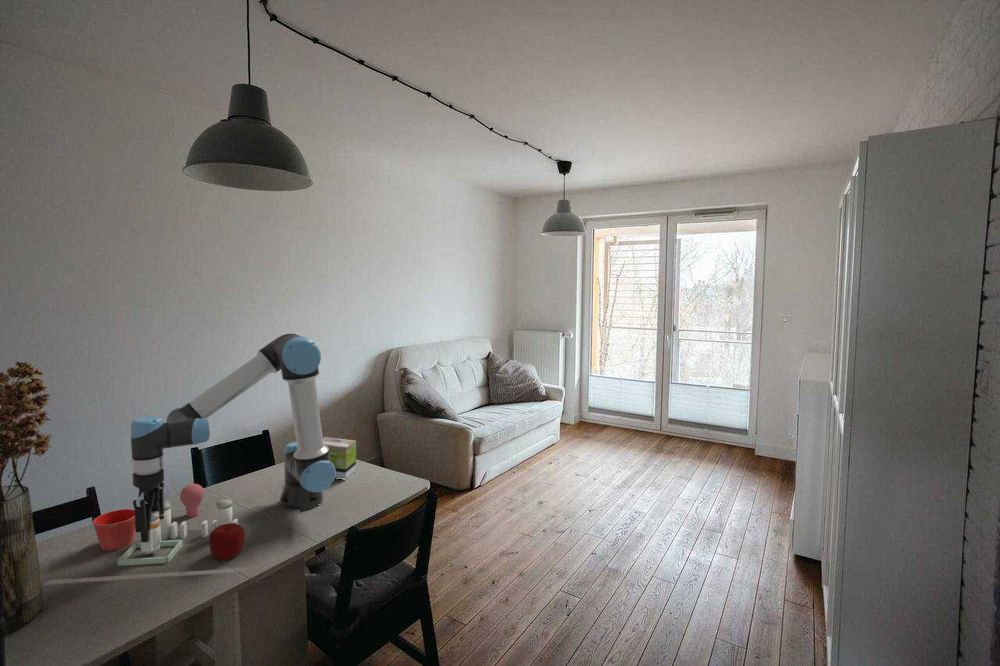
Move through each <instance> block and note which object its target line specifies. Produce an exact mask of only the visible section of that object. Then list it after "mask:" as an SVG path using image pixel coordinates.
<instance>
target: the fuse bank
mask: <svg viewBox="0 0 1000 666" xmlns="http://www.w3.org/2000/svg"><path fill="white" fill-rule="evenodd" d="M232 523H235V524H238V525H239V518H234V519H233V522H232ZM187 524H188V521H187V520H184V521H182V522H181V524H180V525H179V530H178V522H177V521H173V522H171V525H170V532H171V538H170V539H168V540H183V544H188V543H189V544H190V543H191V544H192V543H193V544H194V543H206V542H207V543H209V536H210V534H211V532H212V531H213V530H214V529H215V528H216V527H217V519H214V520H212V522H211V523H210V526H211V528H210V529H209V520H205V519H204V521H202V523H201V529H193V530H191V529H190V530H189V529H188V525H187ZM168 540H165V541H168Z"/></svg>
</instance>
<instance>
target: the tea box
mask: <svg viewBox="0 0 1000 666" xmlns="http://www.w3.org/2000/svg"><path fill="white" fill-rule="evenodd" d="M323 444H324V445H326V446H328V448H329V454H330V461H331V462H332V463H333V465H334V467H335V470H336V475H335V478H346V477H348V476H349V475H350V474H351V473H352V472H353V471H355V470H356V471H357V469H356V468H357V465H356V464H357V440H354V439H347V438H336V437H330V436H329V437H328V436H324V437H323Z"/></svg>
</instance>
